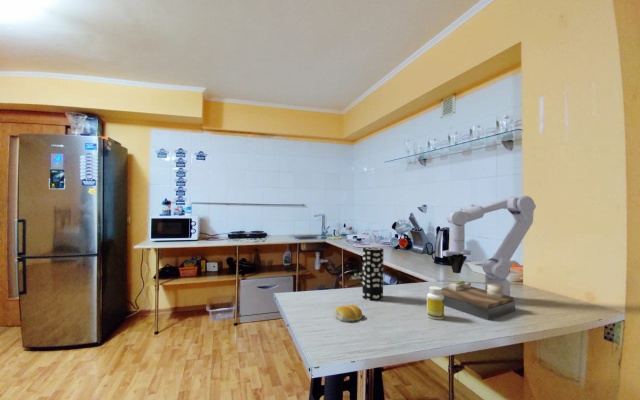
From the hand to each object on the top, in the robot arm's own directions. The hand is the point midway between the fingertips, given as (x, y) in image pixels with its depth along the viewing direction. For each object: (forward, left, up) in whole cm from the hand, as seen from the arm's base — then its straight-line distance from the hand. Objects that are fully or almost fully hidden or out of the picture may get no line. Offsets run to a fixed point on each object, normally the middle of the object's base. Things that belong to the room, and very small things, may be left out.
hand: (456, 272), depth 116 cm
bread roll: (+52, -5, -11) cm, 54 cm away
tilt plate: (+3, +9, -7) cm, 12 cm away
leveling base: (+4, +9, -10) cm, 14 cm away
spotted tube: (+31, -17, -11) cm, 37 cm away
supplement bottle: (+26, +9, -11) cm, 29 cm away
